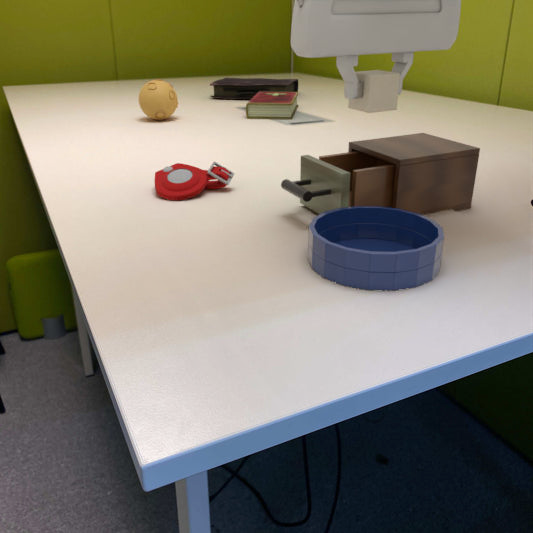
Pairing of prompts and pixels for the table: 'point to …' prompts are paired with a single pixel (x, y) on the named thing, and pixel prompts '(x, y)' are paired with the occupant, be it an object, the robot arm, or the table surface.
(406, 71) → the robot arm
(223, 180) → the tracker holder
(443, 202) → the cabinet
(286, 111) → the hardcover book
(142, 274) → the table surface
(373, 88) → the block
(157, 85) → the stress ball
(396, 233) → the bowl
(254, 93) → the diary
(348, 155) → the drawer
